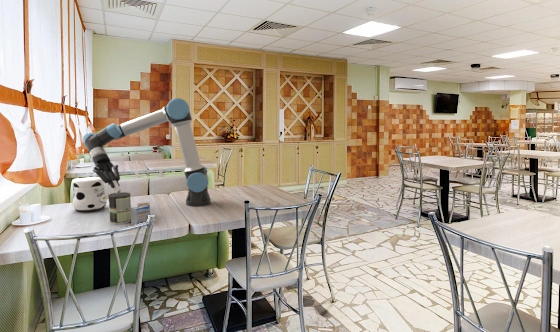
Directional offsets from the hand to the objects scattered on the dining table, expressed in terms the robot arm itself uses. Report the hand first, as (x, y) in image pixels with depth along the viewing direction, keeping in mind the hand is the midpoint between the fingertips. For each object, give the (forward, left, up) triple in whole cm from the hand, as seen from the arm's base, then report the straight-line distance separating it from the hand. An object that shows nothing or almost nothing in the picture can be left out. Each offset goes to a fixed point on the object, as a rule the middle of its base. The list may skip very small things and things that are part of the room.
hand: (118, 192), depth 175 cm
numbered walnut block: (-9, -8, -15) cm, 20 cm away
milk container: (+28, -25, -15) cm, 40 cm away
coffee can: (0, 0, -15) cm, 15 cm away
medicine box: (-12, +5, -15) cm, 21 cm away
